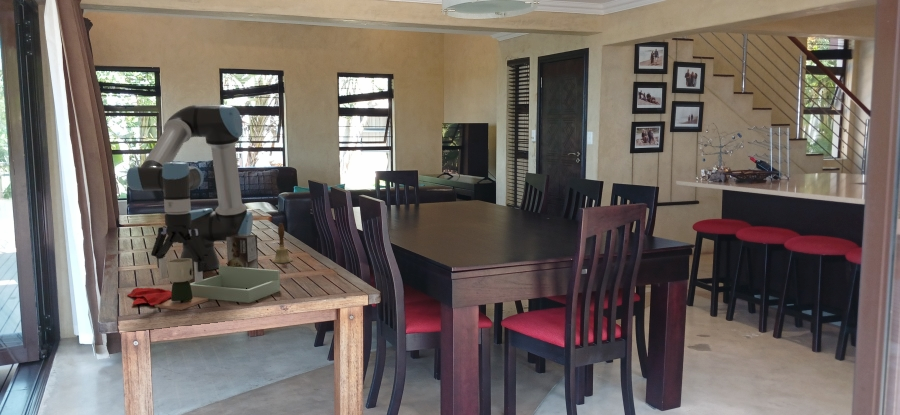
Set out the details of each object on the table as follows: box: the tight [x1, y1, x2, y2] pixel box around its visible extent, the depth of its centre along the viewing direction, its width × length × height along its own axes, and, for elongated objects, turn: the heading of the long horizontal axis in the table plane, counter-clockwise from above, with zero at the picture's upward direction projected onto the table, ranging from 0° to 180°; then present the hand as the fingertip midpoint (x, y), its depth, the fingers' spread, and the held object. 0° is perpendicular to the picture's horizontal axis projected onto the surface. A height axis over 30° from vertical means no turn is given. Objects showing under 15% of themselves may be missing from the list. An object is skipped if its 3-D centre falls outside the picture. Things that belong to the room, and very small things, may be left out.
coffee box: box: [226, 234, 259, 269], centre depth 244 cm, size 9×6×16 cm
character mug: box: [167, 257, 194, 302], centre depth 209 cm, size 11×7×13 cm, turn 30°
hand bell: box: [271, 222, 294, 264], centre depth 278 cm, size 8×8×16 cm
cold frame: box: [189, 265, 281, 304], centre depth 222 cm, size 24×17×7 cm
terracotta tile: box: [154, 297, 209, 311], centre depth 210 cm, size 10×12×1 cm
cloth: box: [126, 287, 172, 306], centre depth 216 cm, size 26×14×2 cm, turn 29°
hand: (181, 280), depth 209 cm, fingers open, 13 cm apart
